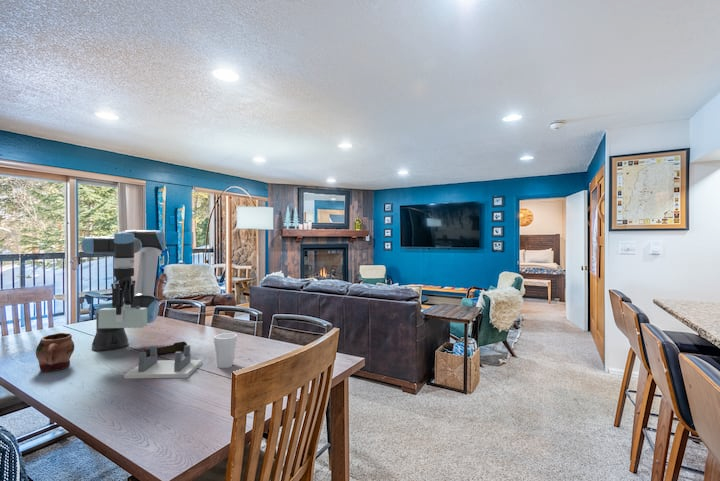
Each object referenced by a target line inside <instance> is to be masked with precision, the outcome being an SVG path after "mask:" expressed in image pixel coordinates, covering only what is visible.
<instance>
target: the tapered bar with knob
mask: <svg viewBox="0 0 720 481" xmlns="http://www.w3.org/2000/svg"><path fill="white" fill-rule="evenodd" d="M146 326H148V323H147V308H140V306H136V308H124V322H116V308H103V309H100V310H99V311H98V328H124V329H131V328H133V329H134V328H135V329H136V328H137V329H138V328H139V329H141V328H142V329H143V328H144V327H146Z"/></svg>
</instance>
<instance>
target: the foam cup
mask: <svg viewBox="0 0 720 481" xmlns="http://www.w3.org/2000/svg"><path fill="white" fill-rule="evenodd" d="M237 342H238V334H236V333H232V332H225V333H219V334H216V335H214V337H213V343H214V350H215V357H216V364H217V368H220V369H228V368H230V367H232V365H233V366H234V359H235V353H236V345H237Z"/></svg>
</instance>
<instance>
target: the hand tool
mask: <svg viewBox="0 0 720 481" xmlns="http://www.w3.org/2000/svg"><path fill="white" fill-rule="evenodd" d="M185 345H188V343H187V342H185V341H179V342H178V341H177V342H174V343H173V344H170V345H166V346H159V347H157V356H158V355H163V354H167V353H175V352H184V346H185ZM142 352H146V358H148V357H149V356H150V348H146V349H145V348H143V351H142Z"/></svg>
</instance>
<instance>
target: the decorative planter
mask: <svg viewBox="0 0 720 481" xmlns="http://www.w3.org/2000/svg"><path fill="white" fill-rule="evenodd" d="M72 338H73V335H72V334H71V333H70V332H69V333H67V332H66V333H65V332H58V333H54V334H48V335H45V336H44V337H42V338H40V340H39V343H38V345H37V347H36V349H35V356H36V359H37V361H38V366H39V370H40V371H41V372H42V373H48V372H56V371H60V370H63V369H66V368H67V367H69V366H70V365H71V360H70V359H71V356H72V355H73V353H74V351H75V342H74V341H73V339H72Z"/></svg>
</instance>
